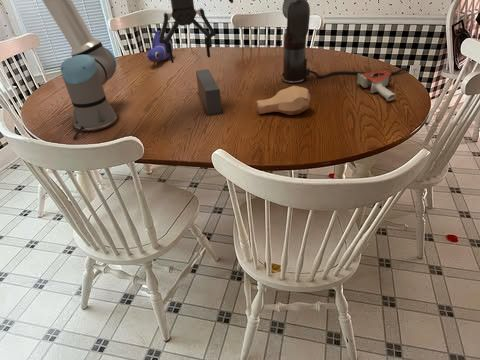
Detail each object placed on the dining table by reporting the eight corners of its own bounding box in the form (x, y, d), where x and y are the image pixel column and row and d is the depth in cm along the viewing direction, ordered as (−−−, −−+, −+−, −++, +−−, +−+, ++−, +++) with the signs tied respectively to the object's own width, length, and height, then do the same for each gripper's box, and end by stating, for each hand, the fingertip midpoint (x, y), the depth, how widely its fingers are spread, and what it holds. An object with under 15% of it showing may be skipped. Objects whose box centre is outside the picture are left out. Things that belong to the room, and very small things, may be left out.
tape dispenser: (391, 107, 134) (404, 85, 146) (394, 94, 130) (407, 73, 143) (345, 96, 141) (361, 77, 154) (348, 84, 138) (364, 65, 150)
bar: (221, 112, 135) (219, 88, 129) (208, 114, 134) (205, 91, 128) (210, 90, 153) (208, 68, 147) (198, 92, 152) (195, 70, 146)
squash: (314, 116, 128) (313, 95, 122) (259, 125, 130) (256, 105, 124) (308, 99, 136) (307, 78, 129) (257, 108, 138) (253, 88, 131)
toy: (161, 62, 200) (141, 68, 178) (157, 30, 193) (135, 32, 171) (177, 61, 198) (159, 67, 176) (173, 29, 191) (154, 30, 169)
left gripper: (215, -11, 124) (221, 51, 136) (143, -3, 120) (156, 61, 132) (219, -8, 118) (225, 57, 130) (143, 1, 114) (157, 67, 126)
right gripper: (256, -52, 128) (257, -2, 138) (218, -49, 126) (222, 1, 135) (263, -51, 122) (263, 1, 132) (222, -48, 120) (226, 5, 129)
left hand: (190, 59), depth 131 cm, fingers open, 13 cm apart
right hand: (242, 1), depth 133 cm, fingers open, 8 cm apart
